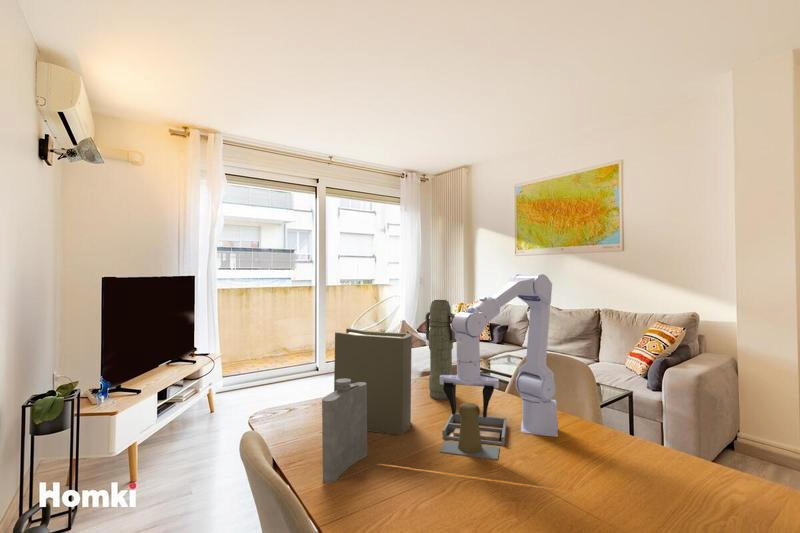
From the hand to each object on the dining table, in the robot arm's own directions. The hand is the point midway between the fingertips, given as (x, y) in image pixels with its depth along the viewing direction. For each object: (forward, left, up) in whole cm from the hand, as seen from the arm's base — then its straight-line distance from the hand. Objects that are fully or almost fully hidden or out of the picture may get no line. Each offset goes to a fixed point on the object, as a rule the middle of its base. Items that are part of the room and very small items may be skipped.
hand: (469, 414), depth 97 cm
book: (+29, -9, -10) cm, 32 cm away
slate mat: (0, 0, -9) cm, 9 cm away
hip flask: (+27, +15, -10) cm, 32 cm away
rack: (0, -12, -9) cm, 15 cm away
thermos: (+16, -42, -9) cm, 46 cm away
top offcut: (-1, -8, -9) cm, 12 cm away
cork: (0, -1, -9) cm, 9 cm away
